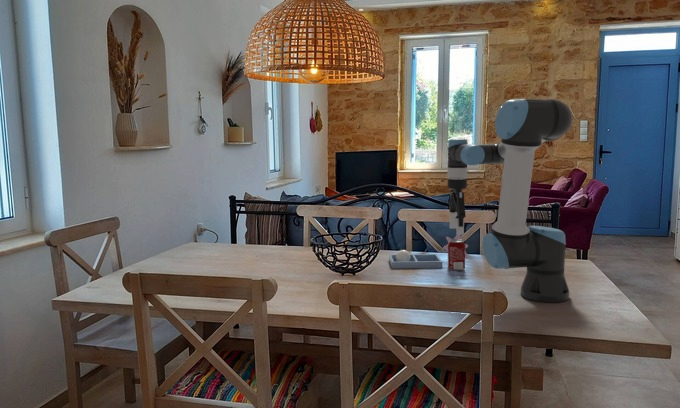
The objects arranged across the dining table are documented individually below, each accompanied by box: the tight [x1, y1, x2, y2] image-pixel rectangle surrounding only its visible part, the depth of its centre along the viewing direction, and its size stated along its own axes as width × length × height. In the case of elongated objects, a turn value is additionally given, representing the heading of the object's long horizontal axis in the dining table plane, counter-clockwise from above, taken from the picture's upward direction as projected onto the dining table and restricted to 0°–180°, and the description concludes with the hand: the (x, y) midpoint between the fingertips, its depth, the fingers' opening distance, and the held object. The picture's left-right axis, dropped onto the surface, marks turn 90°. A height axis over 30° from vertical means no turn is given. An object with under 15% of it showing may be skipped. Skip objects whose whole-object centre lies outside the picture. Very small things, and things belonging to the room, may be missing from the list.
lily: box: [442, 235, 469, 259], centre depth 233 cm, size 12×12×10 cm
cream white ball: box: [395, 249, 411, 262], centre depth 220 cm, size 6×6×6 cm
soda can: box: [447, 238, 466, 272], centre depth 210 cm, size 7×7×12 cm
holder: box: [388, 253, 443, 269], centre depth 220 cm, size 14×20×3 cm, turn 89°
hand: (456, 231), depth 209 cm, fingers open, 13 cm apart
